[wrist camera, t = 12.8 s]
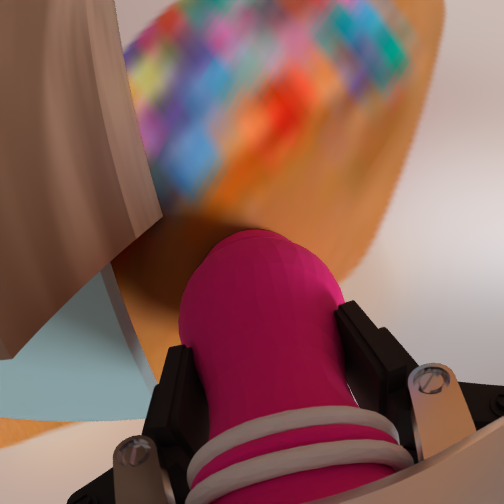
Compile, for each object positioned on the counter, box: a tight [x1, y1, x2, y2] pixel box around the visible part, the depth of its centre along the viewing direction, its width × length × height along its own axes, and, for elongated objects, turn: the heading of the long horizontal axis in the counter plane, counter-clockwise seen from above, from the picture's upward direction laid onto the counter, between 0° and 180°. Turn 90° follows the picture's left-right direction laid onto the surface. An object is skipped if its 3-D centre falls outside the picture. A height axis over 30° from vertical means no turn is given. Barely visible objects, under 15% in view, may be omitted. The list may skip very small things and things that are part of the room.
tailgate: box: [0, 262, 158, 422], centre depth 13 cm, size 18×2×8 cm
